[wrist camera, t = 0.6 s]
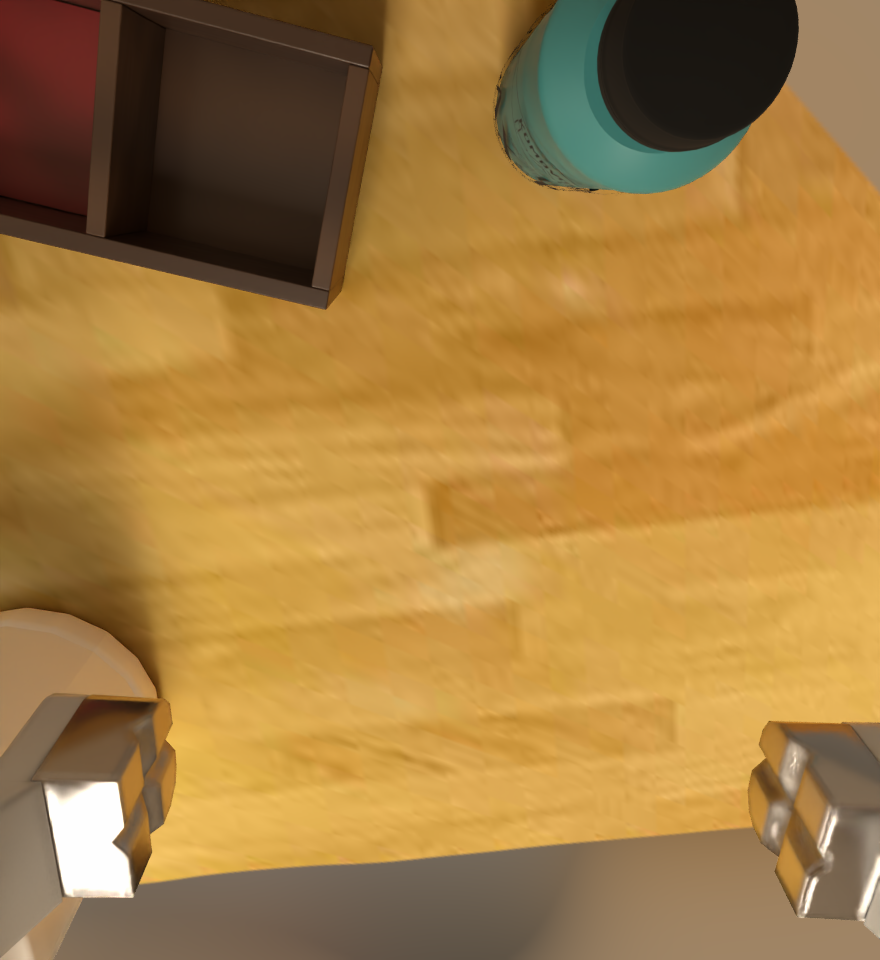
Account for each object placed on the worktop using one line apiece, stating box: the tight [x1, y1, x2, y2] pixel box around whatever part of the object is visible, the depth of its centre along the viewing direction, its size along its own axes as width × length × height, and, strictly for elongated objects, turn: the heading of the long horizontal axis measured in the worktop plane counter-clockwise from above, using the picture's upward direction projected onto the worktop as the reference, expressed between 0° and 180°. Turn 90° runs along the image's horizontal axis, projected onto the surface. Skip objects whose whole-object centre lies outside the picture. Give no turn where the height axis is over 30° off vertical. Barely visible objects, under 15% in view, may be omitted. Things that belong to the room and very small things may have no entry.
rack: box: [0, 0, 382, 310], centre depth 32 cm, size 10×19×6 cm, turn 77°
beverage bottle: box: [493, 0, 799, 194], centre depth 25 cm, size 6×7×20 cm
